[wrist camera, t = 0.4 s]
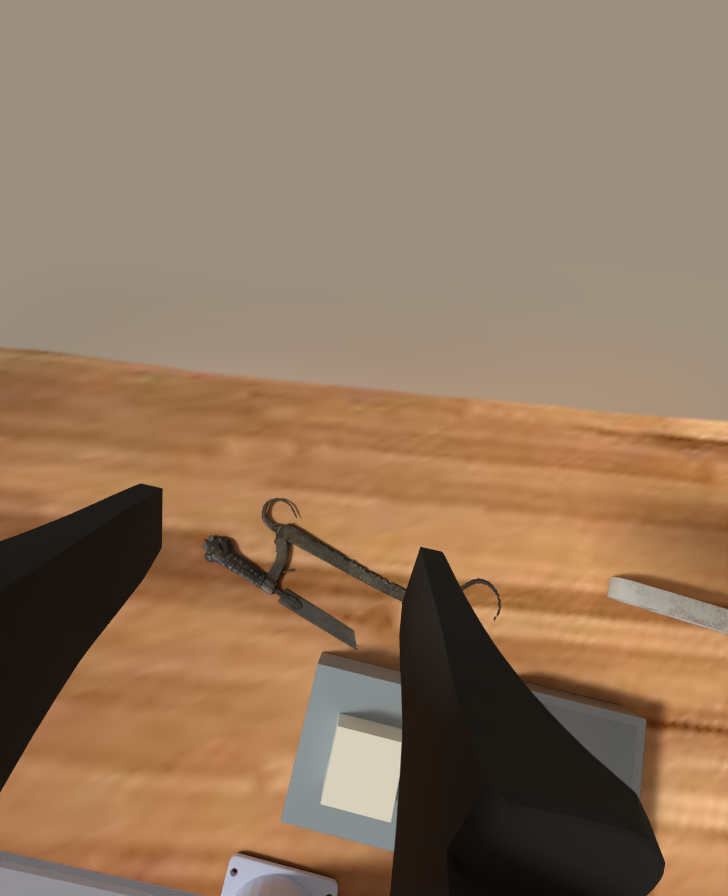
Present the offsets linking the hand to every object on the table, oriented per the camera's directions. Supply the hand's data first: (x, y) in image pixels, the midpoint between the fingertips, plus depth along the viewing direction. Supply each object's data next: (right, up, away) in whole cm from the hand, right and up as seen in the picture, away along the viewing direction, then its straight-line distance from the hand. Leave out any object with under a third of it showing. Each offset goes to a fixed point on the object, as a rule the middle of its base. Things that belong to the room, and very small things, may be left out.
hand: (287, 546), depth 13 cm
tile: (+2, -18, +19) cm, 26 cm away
